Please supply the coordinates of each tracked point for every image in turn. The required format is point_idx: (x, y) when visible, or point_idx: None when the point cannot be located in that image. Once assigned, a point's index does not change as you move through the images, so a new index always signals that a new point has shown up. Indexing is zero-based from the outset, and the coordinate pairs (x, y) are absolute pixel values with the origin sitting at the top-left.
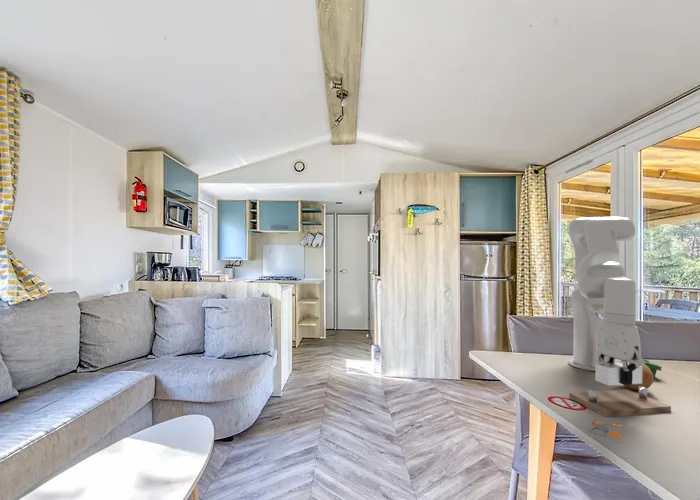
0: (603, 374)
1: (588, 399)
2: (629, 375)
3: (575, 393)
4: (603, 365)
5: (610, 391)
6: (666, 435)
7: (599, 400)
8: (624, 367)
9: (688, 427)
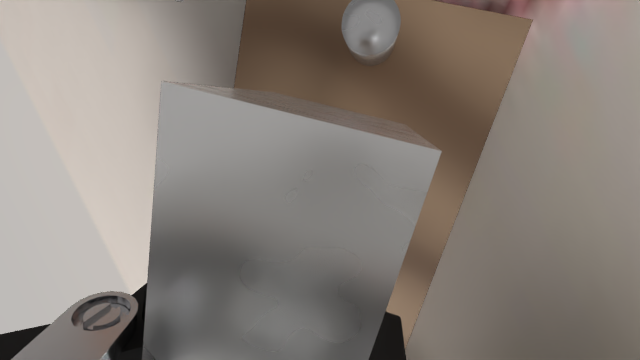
0: (300, 104)
1: (399, 41)
2: None
3: (503, 59)
4: (287, 156)
5: (406, 309)
6: (83, 62)
7: (360, 100)
8: (102, 336)
9: (112, 230)
